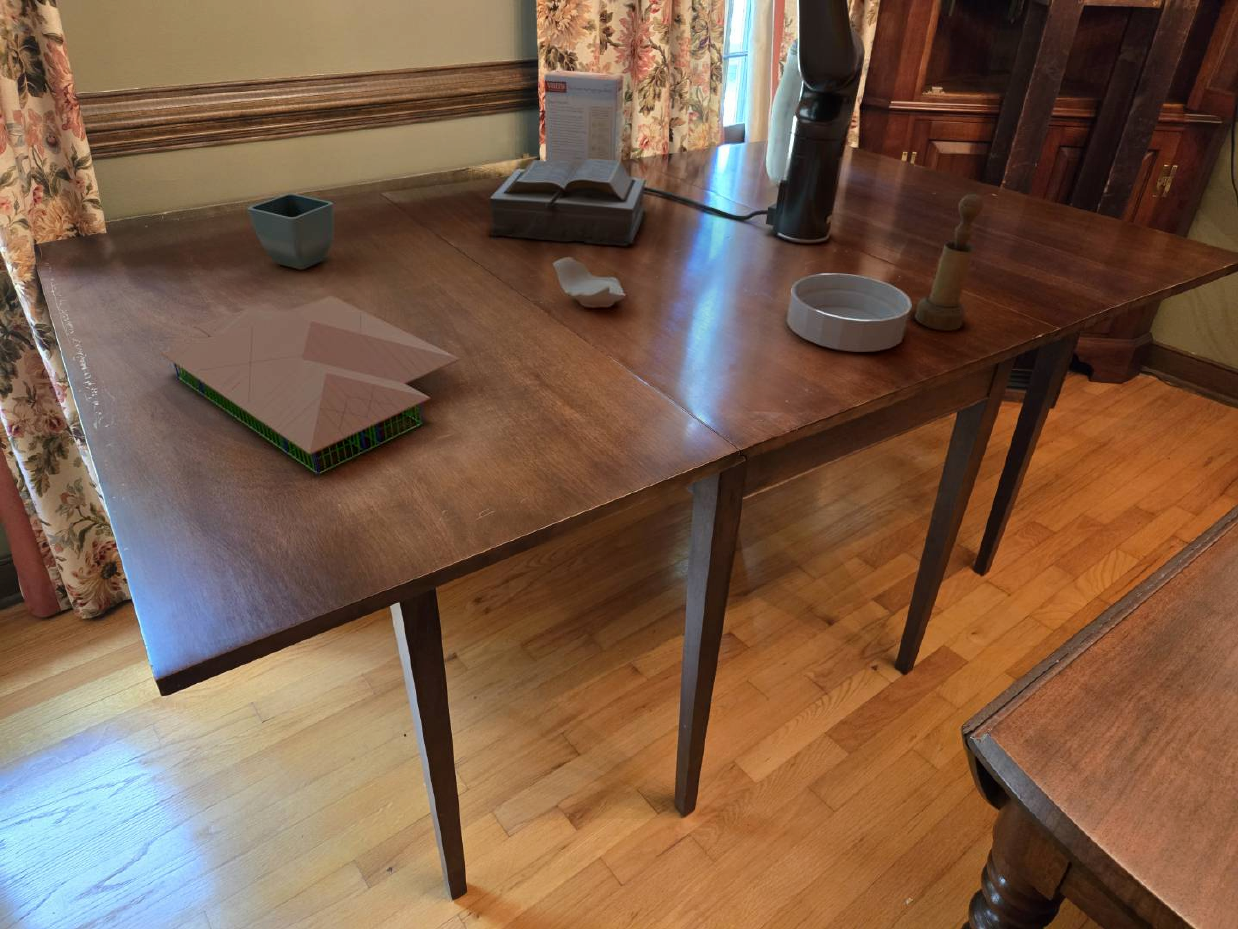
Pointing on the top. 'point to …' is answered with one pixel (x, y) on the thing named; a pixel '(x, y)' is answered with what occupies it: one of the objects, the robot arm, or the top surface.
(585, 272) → the pottery shard
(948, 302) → the mortar and pestle
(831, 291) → the pan
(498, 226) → the bible
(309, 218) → the flower pot
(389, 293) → the top surface
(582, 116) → the cracker box
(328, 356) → the house
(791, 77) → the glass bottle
